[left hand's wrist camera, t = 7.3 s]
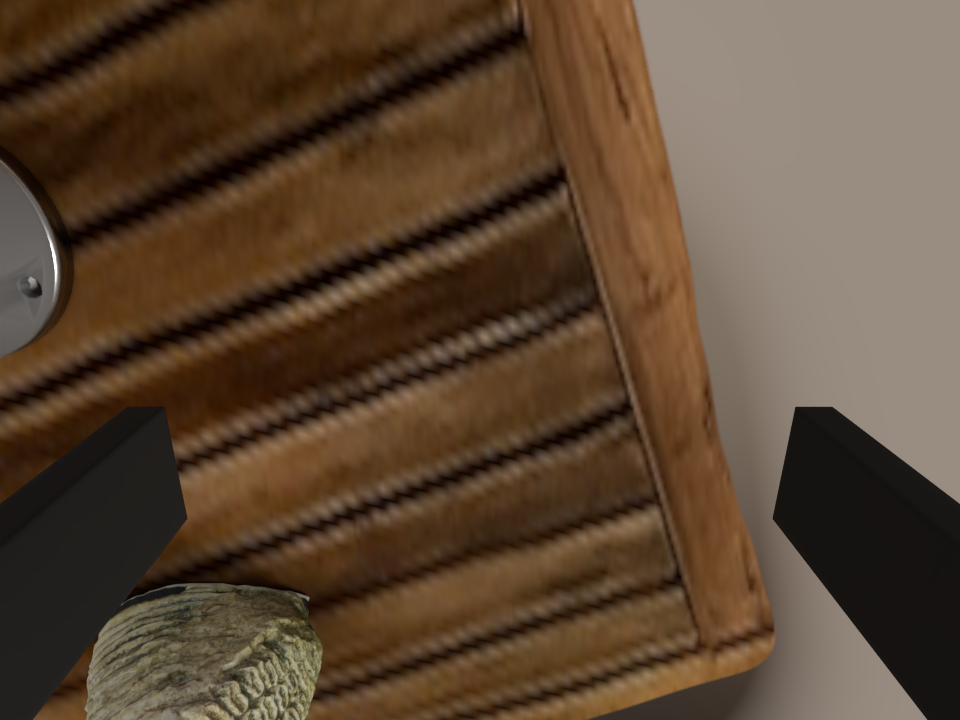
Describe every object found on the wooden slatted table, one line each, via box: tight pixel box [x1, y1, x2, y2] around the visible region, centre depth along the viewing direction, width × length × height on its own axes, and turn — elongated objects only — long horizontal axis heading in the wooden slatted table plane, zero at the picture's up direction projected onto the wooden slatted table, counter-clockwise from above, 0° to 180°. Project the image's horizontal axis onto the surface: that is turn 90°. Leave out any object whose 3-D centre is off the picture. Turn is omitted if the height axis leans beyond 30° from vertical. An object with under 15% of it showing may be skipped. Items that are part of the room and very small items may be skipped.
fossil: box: [84, 583, 323, 720], centre depth 42 cm, size 9×18×15 cm, turn 105°
